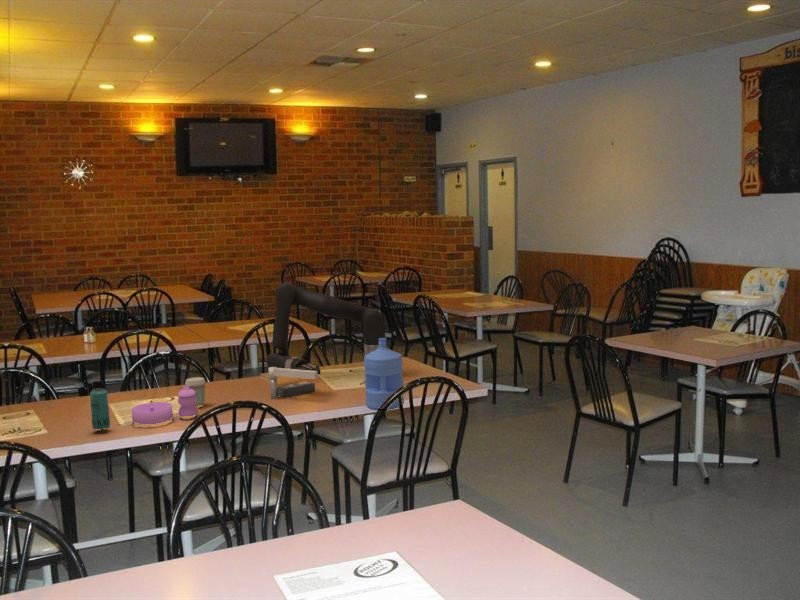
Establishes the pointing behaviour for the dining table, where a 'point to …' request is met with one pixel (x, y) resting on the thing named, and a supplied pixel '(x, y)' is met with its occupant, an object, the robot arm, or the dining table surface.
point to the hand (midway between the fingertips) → (318, 372)
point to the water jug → (382, 376)
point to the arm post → (273, 388)
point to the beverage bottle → (99, 406)
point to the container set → (165, 409)
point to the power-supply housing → (296, 389)
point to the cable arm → (292, 373)
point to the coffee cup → (197, 388)
